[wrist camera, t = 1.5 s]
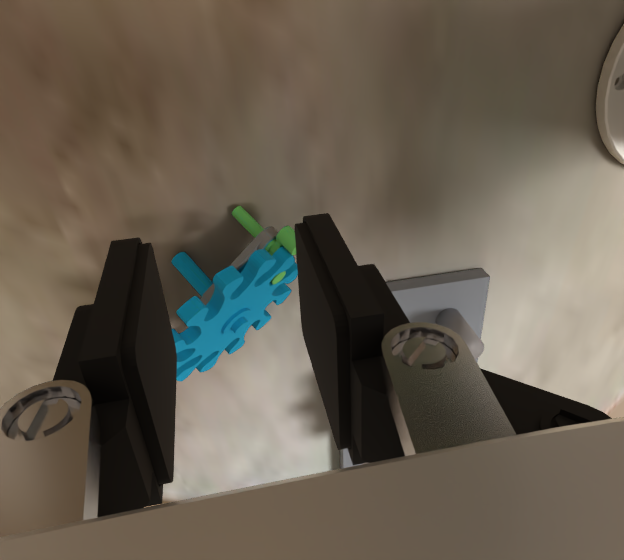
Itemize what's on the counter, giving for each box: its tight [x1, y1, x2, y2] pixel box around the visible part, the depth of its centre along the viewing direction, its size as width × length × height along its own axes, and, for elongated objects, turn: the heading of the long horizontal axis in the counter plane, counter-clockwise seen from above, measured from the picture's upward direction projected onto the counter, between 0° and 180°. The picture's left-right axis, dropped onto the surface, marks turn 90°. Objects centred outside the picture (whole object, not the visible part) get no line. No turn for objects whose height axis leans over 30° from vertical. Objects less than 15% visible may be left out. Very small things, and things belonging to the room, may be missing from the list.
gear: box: [172, 206, 298, 381], centre depth 31 cm, size 11×6×10 cm
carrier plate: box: [340, 268, 490, 469], centre depth 39 cm, size 11×20×5 cm, turn 3°
